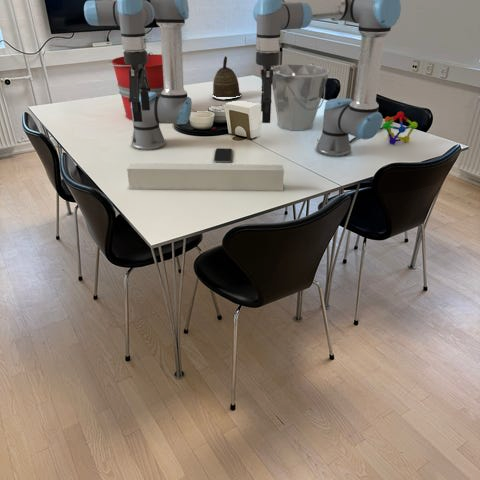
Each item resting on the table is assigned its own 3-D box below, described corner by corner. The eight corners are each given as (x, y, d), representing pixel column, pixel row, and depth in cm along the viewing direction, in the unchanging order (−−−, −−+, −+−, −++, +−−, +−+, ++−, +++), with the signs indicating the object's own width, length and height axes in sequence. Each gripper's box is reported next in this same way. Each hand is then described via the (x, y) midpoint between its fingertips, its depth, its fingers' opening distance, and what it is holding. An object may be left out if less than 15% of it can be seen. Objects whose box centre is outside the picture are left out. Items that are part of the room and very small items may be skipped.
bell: (227, 105, 294) (202, 96, 282) (238, 66, 289) (213, 55, 277) (243, 108, 280) (217, 98, 268) (255, 66, 275) (229, 55, 263)
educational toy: (377, 146, 209) (379, 114, 202) (384, 138, 219) (386, 107, 211) (411, 149, 202) (415, 116, 195) (417, 141, 212) (420, 109, 204)
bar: (129, 188, 166) (126, 168, 162) (132, 183, 171) (130, 163, 166) (282, 190, 166) (283, 170, 162) (281, 184, 170) (282, 164, 166)
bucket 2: (296, 138, 215) (301, 78, 201) (255, 124, 234) (256, 68, 219) (335, 125, 232) (342, 70, 217) (294, 113, 251) (297, 61, 236)
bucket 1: (125, 105, 263) (118, 51, 247) (184, 106, 262) (180, 52, 246) (109, 123, 234) (99, 63, 218) (175, 124, 233) (170, 64, 217)
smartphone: (213, 160, 188) (216, 148, 201) (213, 162, 189) (216, 149, 201) (230, 161, 188) (232, 148, 201) (230, 162, 189) (232, 149, 201)
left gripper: (138, 57, 132) (146, 126, 144) (153, 44, 153) (159, 106, 165) (113, 56, 132) (123, 126, 144) (132, 44, 154) (139, 105, 165)
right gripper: (281, 58, 132) (278, 128, 143) (277, 45, 153) (274, 107, 164) (256, 58, 132) (255, 127, 143) (255, 45, 153) (254, 106, 164)
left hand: (142, 115), depth 154 cm, fingers open, 13 cm apart
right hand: (265, 116), depth 154 cm, fingers open, 13 cm apart
